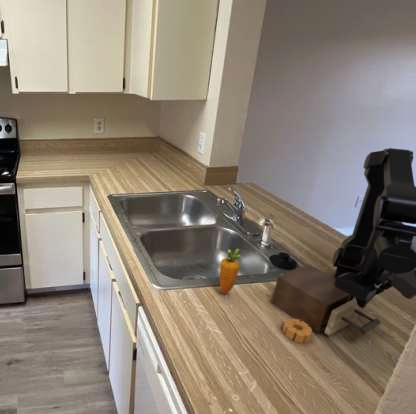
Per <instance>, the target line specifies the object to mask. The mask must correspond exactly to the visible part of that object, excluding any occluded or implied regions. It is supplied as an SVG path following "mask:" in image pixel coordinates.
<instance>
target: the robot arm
mask: <svg viewBox="0 0 416 414" xmlns="http://www.w3.org/2000/svg"><path fill="white" fill-rule="evenodd" d="M413 161H414V151H413V150H410V149H403V148H392V147H388V148H384V149H383V150H377V151H371V152H369V154H368V155H366V157H365V159H364V163H363V167H362V168H363V169H364V172H363V175H364V177H365V180H366V182H367V187H366V190H365V193H364V196H363V200H362V202H361V207H360V209H359V212H358V215H357V219H356V222H355V225H354V228H353V230H352V234H350V236H348V237H347V238H345V239H344V240H343V241H342V243H341V246H340V247H338V248H337V249H336V250H335V251H334V253H333V256H332V267H334V268H335V267H336V269H335V271H334V273H333V277H335V278H336V279H335V282H334V286H335V287H337V288H339V289H341V290H343V291H344V292H346V293H348V294H350V295H352V296H354V297H355V298H356V301H357V305H358V306H359V307H361V309H364V308H365V307H366V306H368V304H369V303H370V302H371V301H372V300H373V299H374V298H375V296H379V295H380V294H381V293H384V292H385V291H386V290H389V289H391V288H392V287H393V288H394V289H395V290H396V291H398V292H399V293H400V294H401V296H402V297H403V298H405V299H408V300H412V299H413V298H414V297H416V249H415V247H414V245H413V239H414V238H415V237H416V226H415V225H416V185H415V178H414V173H413V172H414V171H413ZM409 224H410V225H409ZM355 298H354V299H355Z"/></svg>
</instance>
